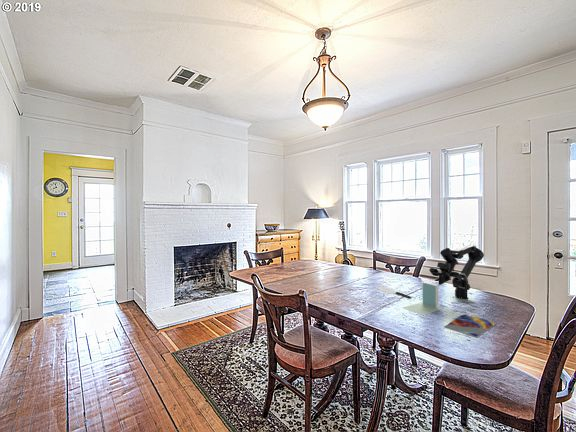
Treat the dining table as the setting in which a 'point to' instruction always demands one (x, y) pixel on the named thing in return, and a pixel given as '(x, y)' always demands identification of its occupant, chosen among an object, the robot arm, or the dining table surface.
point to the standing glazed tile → (430, 294)
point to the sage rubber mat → (421, 308)
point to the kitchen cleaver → (392, 291)
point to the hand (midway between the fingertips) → (439, 284)
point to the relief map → (470, 325)
